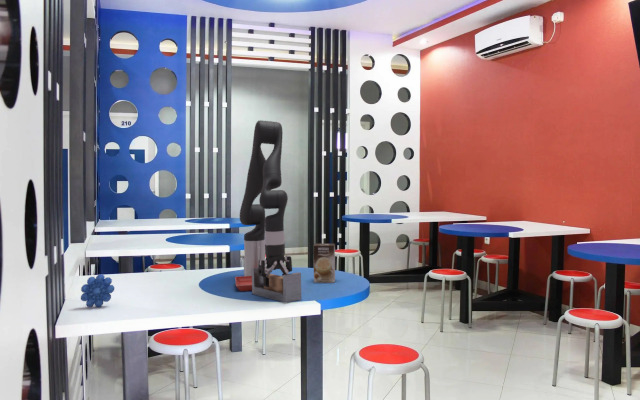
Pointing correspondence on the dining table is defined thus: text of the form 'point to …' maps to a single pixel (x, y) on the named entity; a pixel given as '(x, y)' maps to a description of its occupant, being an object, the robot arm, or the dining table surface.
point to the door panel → (275, 283)
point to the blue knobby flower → (97, 290)
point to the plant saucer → (244, 283)
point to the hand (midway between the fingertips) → (275, 285)
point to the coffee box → (324, 263)
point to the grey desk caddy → (288, 295)
